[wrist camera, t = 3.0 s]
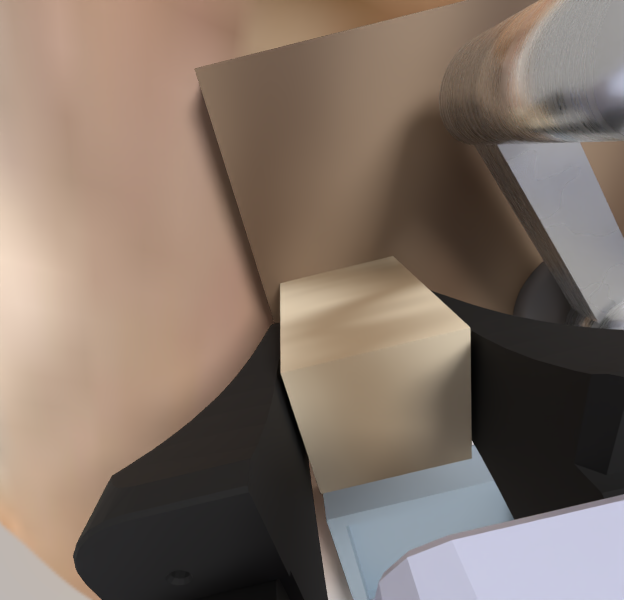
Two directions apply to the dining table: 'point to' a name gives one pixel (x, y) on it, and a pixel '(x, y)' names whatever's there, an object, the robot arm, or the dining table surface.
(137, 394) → the dining table surface
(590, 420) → the robot arm
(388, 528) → the tray
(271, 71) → the board
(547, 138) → the crank lever
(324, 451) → the block
